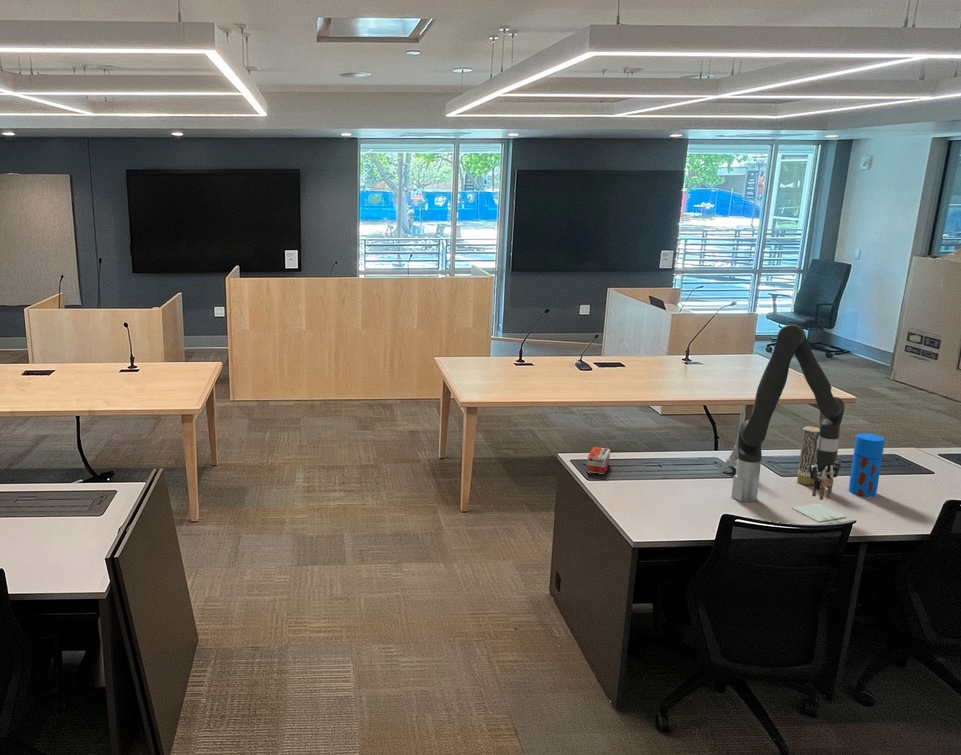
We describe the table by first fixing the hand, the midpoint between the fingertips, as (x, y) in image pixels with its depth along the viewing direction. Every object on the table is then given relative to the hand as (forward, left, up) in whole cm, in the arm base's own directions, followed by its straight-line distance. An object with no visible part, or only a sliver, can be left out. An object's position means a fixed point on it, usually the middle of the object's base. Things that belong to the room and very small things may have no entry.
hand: (822, 488), depth 300 cm
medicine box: (-60, +72, -11) cm, 94 cm away
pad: (0, 0, -10) cm, 10 cm away
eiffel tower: (0, +49, -11) cm, 50 cm away
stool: (0, 0, -4) cm, 4 cm away
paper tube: (+20, +28, -11) cm, 36 cm away
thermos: (+35, +11, -11) cm, 38 cm away
